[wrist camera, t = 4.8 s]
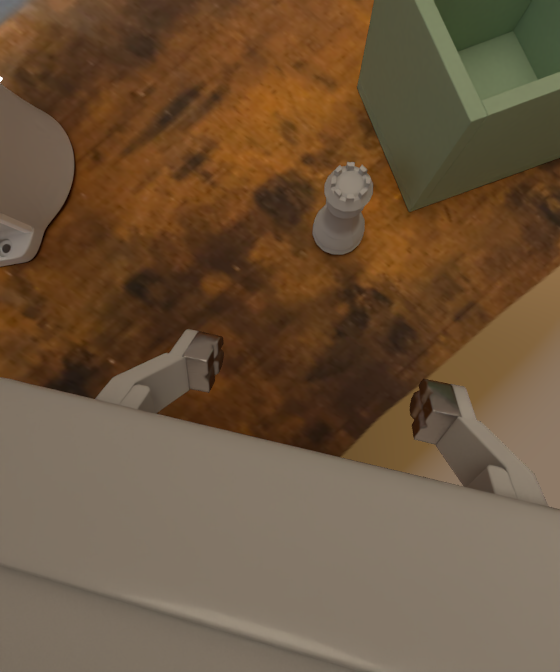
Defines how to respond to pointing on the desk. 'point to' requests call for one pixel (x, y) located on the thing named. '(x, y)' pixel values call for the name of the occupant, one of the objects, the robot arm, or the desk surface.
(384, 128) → the chest
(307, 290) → the desk surface
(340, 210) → the rook chess piece
